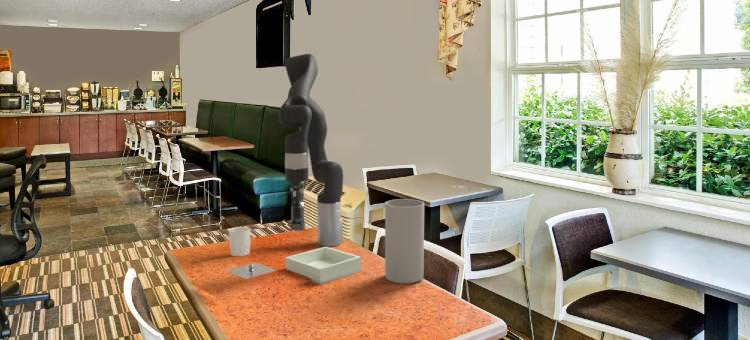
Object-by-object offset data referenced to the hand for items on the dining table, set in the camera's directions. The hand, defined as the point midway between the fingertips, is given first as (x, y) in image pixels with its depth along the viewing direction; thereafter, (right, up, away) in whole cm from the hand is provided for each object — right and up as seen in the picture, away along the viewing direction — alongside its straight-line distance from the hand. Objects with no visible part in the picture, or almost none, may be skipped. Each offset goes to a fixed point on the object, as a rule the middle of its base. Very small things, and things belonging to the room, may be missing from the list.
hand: (298, 216), depth 179 cm
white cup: (-24, -16, +21) cm, 36 cm away
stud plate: (-16, -19, +1) cm, 25 cm away
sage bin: (+8, -19, +3) cm, 21 cm away
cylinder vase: (+35, -20, -3) cm, 41 cm away
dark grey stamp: (0, -4, +1) cm, 4 cm away
